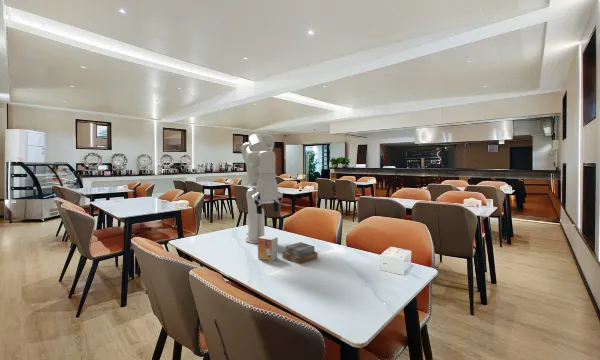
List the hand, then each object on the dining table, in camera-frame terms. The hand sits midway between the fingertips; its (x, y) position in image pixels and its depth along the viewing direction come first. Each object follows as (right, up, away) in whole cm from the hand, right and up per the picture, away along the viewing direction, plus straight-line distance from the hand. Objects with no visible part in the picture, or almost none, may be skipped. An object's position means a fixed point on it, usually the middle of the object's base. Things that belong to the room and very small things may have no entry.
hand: (267, 212), depth 141 cm
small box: (0, -23, +2) cm, 23 cm away
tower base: (+15, -23, +2) cm, 27 cm away
